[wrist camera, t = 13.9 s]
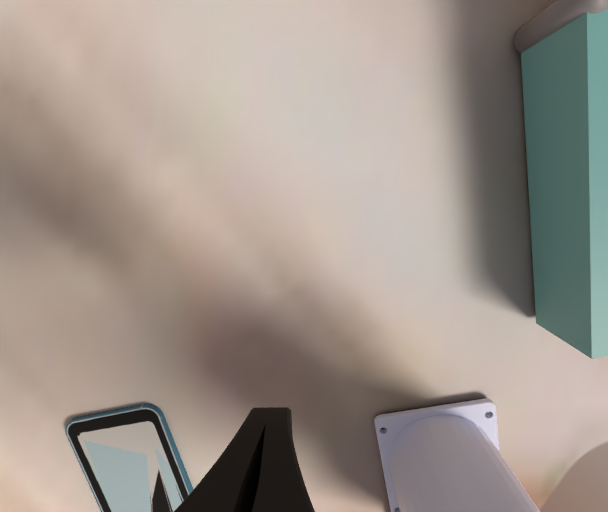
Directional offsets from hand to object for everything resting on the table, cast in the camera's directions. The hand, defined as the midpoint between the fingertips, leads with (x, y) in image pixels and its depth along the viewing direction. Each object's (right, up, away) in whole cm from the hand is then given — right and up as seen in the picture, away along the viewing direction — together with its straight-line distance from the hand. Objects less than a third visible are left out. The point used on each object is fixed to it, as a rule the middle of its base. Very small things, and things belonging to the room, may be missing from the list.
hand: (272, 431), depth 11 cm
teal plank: (+14, +10, +7) cm, 18 cm away
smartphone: (-11, -12, +13) cm, 21 cm away
